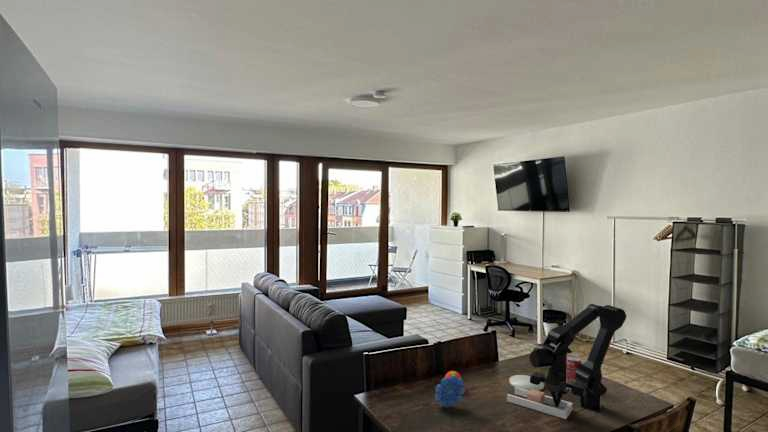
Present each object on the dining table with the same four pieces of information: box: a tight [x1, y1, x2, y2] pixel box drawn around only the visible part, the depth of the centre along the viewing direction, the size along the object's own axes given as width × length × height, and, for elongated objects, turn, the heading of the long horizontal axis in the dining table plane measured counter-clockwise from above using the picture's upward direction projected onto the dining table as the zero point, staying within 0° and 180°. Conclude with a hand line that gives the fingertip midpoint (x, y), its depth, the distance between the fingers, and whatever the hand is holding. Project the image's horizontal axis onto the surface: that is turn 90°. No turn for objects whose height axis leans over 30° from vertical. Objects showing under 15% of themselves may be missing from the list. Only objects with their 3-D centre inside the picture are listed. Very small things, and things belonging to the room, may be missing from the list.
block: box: [526, 389, 546, 405], centre depth 158 cm, size 5×5×4 cm
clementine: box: [444, 370, 462, 379], centre depth 171 cm, size 8×7×7 cm
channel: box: [506, 387, 573, 420], centre depth 157 cm, size 22×9×2 cm, turn 52°
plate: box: [508, 374, 545, 392], centre depth 176 cm, size 14×14×1 cm
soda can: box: [566, 355, 583, 384], centre depth 174 cm, size 7×7×12 cm
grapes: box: [434, 375, 466, 408], centre depth 156 cm, size 12×7×12 cm, turn 96°
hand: (557, 406), depth 153 cm, fingers closed
